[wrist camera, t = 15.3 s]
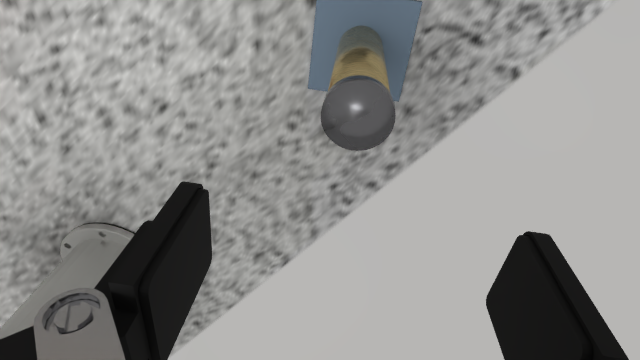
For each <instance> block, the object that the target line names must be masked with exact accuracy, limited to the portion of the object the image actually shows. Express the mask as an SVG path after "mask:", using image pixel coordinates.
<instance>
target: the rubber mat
mask: <svg viewBox="0 0 640 360" xmlns="http://www.w3.org/2000/svg"><path fill="white" fill-rule="evenodd" d="M421 6H422V1H415V0H317V3H316V13H315V23H314V33H313V43H312V53H311V63H310V73H309V83H308V89H314V90H321V91H328V89H329V84H330V80H331V76H332V72H333V67H334V63H335V59H336V54H337V50H338V46H339V42H340V39H341V37H342V36H343V34H344V33H345V32H346V31H347V30H349V29H350V28H352V27H355V26H367V27H370V28H372V29H373V30H375V31H376V32H377V33H378V35H379V36H380V38H381V40H382V45H383V51H384V58H385V64H386V70H387V76H388V83H389V89H390V94H391V96H392V98H393V101H398V102H399V98H400V94H401V90H402V86H403V81H404V77H405V73H406V69H407V65H408V60H409V56H410V52H411V48H412V43H413V39H414V35H415V31H416V27H417V22H418V18H419V14H420V10H421Z"/></svg>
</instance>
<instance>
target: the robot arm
mask: <svg viewBox="0 0 640 360" xmlns="http://www.w3.org/2000/svg"><path fill="white" fill-rule="evenodd" d="M60 256H61V259H62V262H61V263H60V264H59V265H58V266H57V267H56V268H55V269H54V270H53V271H52V273H51V274H50V275H49V276H48V277H47V278H46V279H45V280H44V281H43V282H42V283H41V285H40V286H39V287H38V288H37V289H36V290H35V291H34V292H33V293H32V294H31V295H30V296H29V298H28V299H27V300H26V301H25V302H24V303H23V304H22V305H21V306H20V307H19V308H18V310H17V311H16V312H15V313H14V314H13V315H12V316H11V317H10V318H9V319H8V320H7V322H6V323H5V324H4V325H3V326H2V327H1V328H0V360H167V359H168V357H169V355H170V352H171V350H172V348H173V346H174V344H175V341H176V339H177V337H178V335H179V333H180V330H181V328H182V326H183V324H184V322H185V319H186V317H187V315H188V313H189V311H190V309H191V306H192V304H193V302H194V300H195V298H196V295H197V293H198V291H199V289H200V287H201V284H202V282H203V280H204V278H205V276H206V273H207V271H208V269H209V267H210V264H211V260H212V245H211V227H210V208H209V192H208V190H205V189H203V186H202V185H201V184H197V183H190V182H181V183H180V184H179V186H178V187H177V188H176V190H175V191H174V193H173V194H172V195H171V197H170V198H169V199H168V201H167V202H166V204H165V205H164V206H163V208H162V209H161V210H160V212H159V213H158V215H157V216H156V217H155V219H154V220H153V221H149V220H148V221H146V222H144V223H143V224H142V225H141V227H140V228H139V229H138V231H137V232H136V233H135V235H134V234H133V233H131V232H129V231H126V230H124V229H122V228H118V227H115V226H112V225H106V224H86V225H82V226H79V227H77V228H75V229H74V230H72V231H71V232H70V233H69V234H68V235H67V236H66V237H65V238H64V239H63V241H62V243H61V247H60ZM486 306H487V309H488V312H489V315H490V318H491V321H492V324H493V327H494V330H495V333H496V336H497V339H498V342H499V345H500V348H501V350H502V353H503V356H504V359H505V360H629V359H628V357H627V356H626V354H625V353H624V351H623V349H622V348H621V346H620V345H619V343H618V342H617V340H616V339H615V337H614V335H613V334H612V332H611V330H610V329H609V328H608V326H607V324H606V323H605V321H604V319H603V318H602V316H601V315H600V313H599V312H598V310H597V309H596V307H595V305H594V304H593V302H592V301H591V299H590V297H589V296H588V294H587V293H586V291H585V290H584V288H583V286H582V285H581V283H580V282H579V280H578V279H577V277H576V275H575V274H574V272H573V271H572V269H571V268H570V266H569V264H568V263H567V261H566V260H565V258H564V256H563V255H562V253H561V252H560V250H559V249H558V247H557V246H556V244H555V242H554V241H553V239H552V238H551V236H550V235H548V234H543V233H536V232H529V231H528V232H525V233H524V234H523V235H519V236H518V237H517V239H516V241H515V243H514V245H513V246H512V249H511V250H510V252H509V254H508V256H507V258H506V260H505V262H504V264H503V266H502V268H501V270H500V272H499V274H498V276H497V278H496V279H495V282H494V283H493V285H492V287H491V289H490V291H489V293H488V295H487V299H486Z"/></svg>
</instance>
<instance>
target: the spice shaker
mask: <svg viewBox="0 0 640 360" xmlns="http://www.w3.org/2000/svg"><path fill="white" fill-rule="evenodd" d="M321 122H322V126H323V129H324V131H325V133H326V135H327V136H328V137H329V138H330V139H331V140H332V141H333V142H334V143H335V144H337V145H338V146H340V147H342V148H345V149H349V150H356V151H359V150H367V149H370V148H373V147H375V146H377V145H379V144H380V143H382V142H383V141H384V140H385V139H386V138H387V137H388V136H389V134H390V133H391V131H392V129H393V126H394V123H395V108H394V102H393V98H392V96H391V94H390V89H389V83H388V76H387V70H386V64H385V58H384V51H383V45H382V40H381V38H380V36H379V35H378V33H377V32H376V31H375V30H373V29H372V28H370V27H367V26H355V27H352V28H350V29H349V30H347V31H346V32H345V33H344V34H343V36H342V37H341V39H340V42H339V46H338V50H337V54H336V59H335V63H334V67H333V72H332V76H331V80H330V84H329V89H328V92H327V94H326V96H325V99H324V102H323V106H322V111H321Z"/></svg>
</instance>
